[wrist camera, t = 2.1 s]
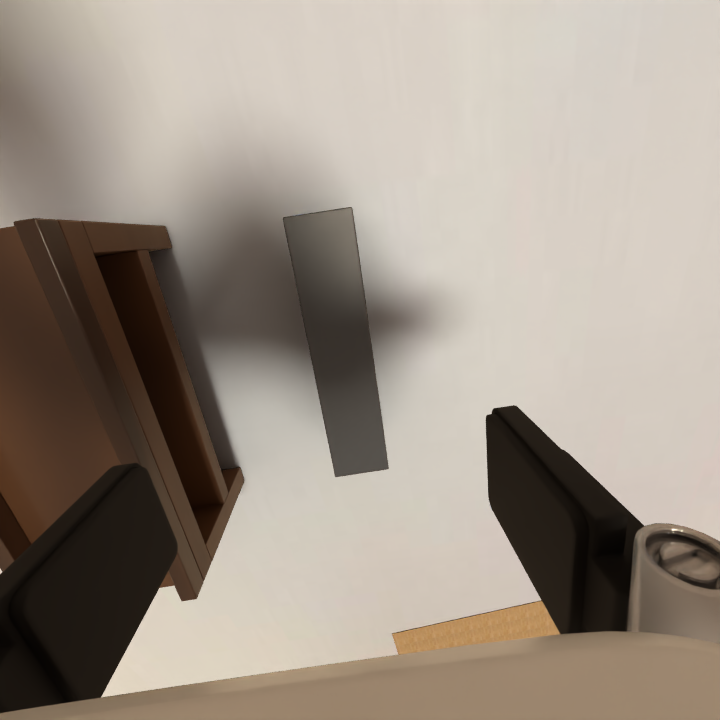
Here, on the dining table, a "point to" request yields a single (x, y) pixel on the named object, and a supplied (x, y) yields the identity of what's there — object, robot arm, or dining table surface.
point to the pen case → (338, 336)
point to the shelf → (99, 388)
